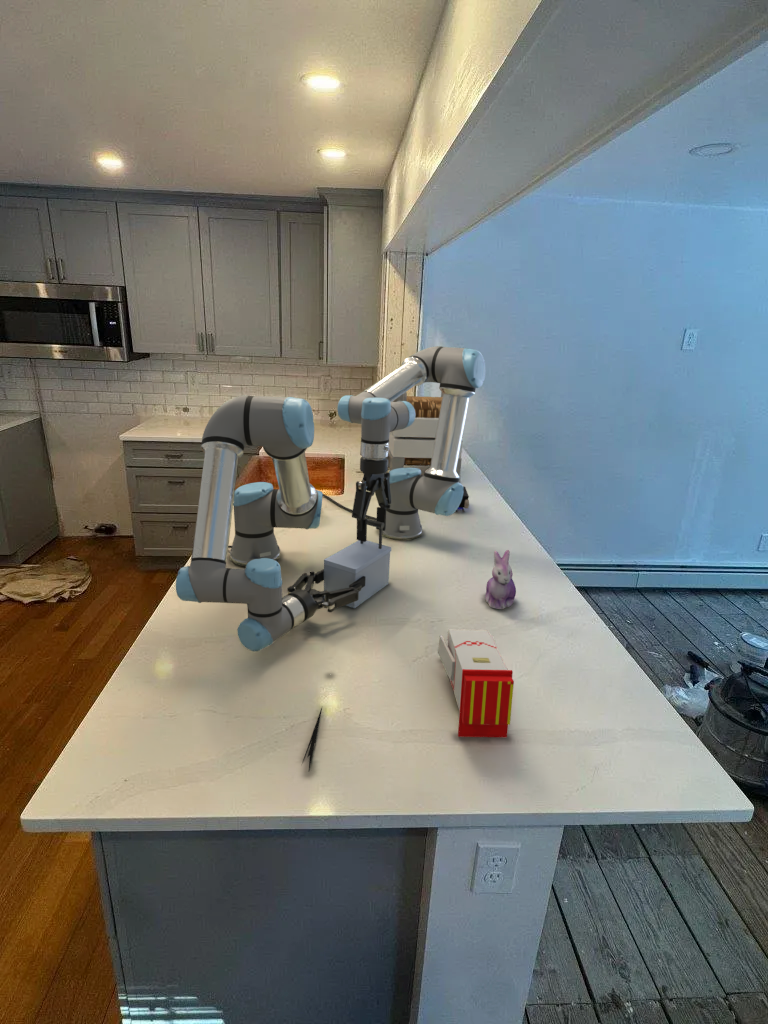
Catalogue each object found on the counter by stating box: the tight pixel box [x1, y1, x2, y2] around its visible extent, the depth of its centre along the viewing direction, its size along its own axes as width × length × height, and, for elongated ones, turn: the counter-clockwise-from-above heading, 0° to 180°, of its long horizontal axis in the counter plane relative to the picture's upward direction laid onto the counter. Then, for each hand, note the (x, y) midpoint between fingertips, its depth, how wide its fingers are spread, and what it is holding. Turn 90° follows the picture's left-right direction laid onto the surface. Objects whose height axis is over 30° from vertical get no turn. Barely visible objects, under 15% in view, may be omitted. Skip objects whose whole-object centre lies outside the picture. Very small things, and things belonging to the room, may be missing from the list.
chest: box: [323, 552, 391, 609], centre depth 157 cm, size 18×10×10 cm, turn 149°
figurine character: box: [455, 485, 470, 513], centre depth 227 cm, size 7×8×15 cm
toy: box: [437, 628, 515, 738], centre depth 117 cm, size 12×13×30 cm
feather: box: [301, 673, 332, 771], centre depth 108 cm, size 2×28×2 cm
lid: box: [323, 517, 392, 574], centre depth 154 cm, size 18×10×9 cm, turn 149°
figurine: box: [484, 549, 517, 610], centre depth 153 cm, size 9×10×15 cm
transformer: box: [386, 391, 465, 483], centre depth 268 cm, size 34×33×41 cm
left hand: (347, 575), depth 152 cm, fingers closed on chest, 10 cm apart
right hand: (371, 534), depth 159 cm, fingers open, 9 cm apart
